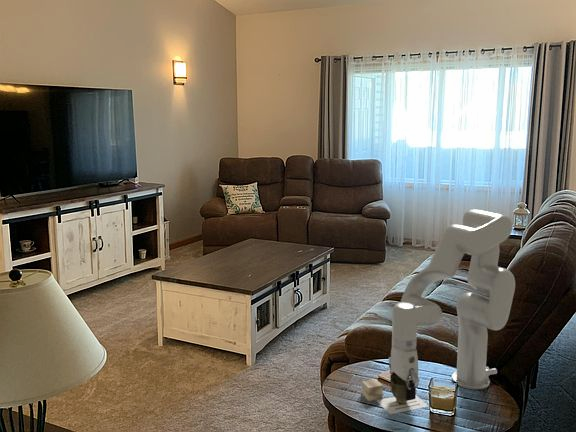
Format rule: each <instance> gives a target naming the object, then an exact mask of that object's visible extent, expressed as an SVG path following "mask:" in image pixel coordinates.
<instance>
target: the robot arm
mask: <svg viewBox="0 0 576 432" xmlns="http://www.w3.org/2000/svg"><path fill="white" fill-rule="evenodd" d="M462 224H463V225H462ZM462 224H456V223H455V224H449V225H448V226H447V227H446V228H445V229H444V231H443V233H442V234H441V235H442V236H441V237H440V239H439V242H438V244H437V246H436V248H435V251H434V253H433V255H432V257H431V259H430V262H429V264H428V265H427V266H426V267H425V268H423V269H422V270H420V271H418V273H416V275H414V276H413V277H412V278H411V279H410V280H409V282H408V284H407V285H406V286H405V290H404V292H403V294H402V297H401V299H400V302H397V303H395V304H394V305H393V307H392V320H391V321H392V323H391V324H392V326H391V327H392V329H391V332H392V333H391V350H390V356H389V357H388V363H389V365H388V367H389V369H390V370H389V374H390V380H389V381H390V386H391V377H392V376H393V375H395V376H397V375H398V376H399V377H400V378H401V379H403V380H404V381H405V382H406V385H407V388H406V400H407V401H408V400H413V399H415V398H416V395H417V393H416V392H417V388H418V386H419V384H420V378H419V359H418V358H419V357H418V351H417V350H418V349H416V348H417V330H418V327H431V326H434V325H437V324H438V323H439V322H440V321H441V319H442V318H443V309H442V308H441V307H440V305H438V304H437V303H436V302H433V301H431V300H428V299H426V298H424V297H422V296H423V294H424V292H425V291H426V289H427V288H428V287H430V286H431V285H432V284H433V283H436V282H439V281H442V280H443V281H444V280H448V279H451V278H454V276H455V275H456V273H457V270H458V269H459V268H458V267H459V265H460V264H461V261H462V259H463V258H464V255H465V254H467V255H469V256H471V258H470V263H469V268H468V273H467V284H468V285H469V286H470V287H471V288H473V289H475V290H477V291H479V292H483V293H486V294H488V295H489V297H488V296H486V295H483V294H480V293H477V292H471V291H469V292H465V293H464V292H463V294H461V295H460V296H459V298H458V299H457V301H456V313H457V320H458V335H457V336H458V337H457V356H456V357H457V358H456V359H457V360H456V371H455V372H453V373H452V374H451V380H453V381H455V382H458V385H459V386H458V385H457V386H458V387H460V388H463V389H467V390H483V389H486V388H488V387H489V386H490V384H491V383H490V382H491V380H490V378H489V376H490V375H497V373H498V370H497V368H496V367H494V368H490V367H489V366H487V356H488V355H487V354H488V340H489V339H488V338H489V335H488V329H489V330H491V331H500V330H502V329H503V328H504V327H505V326H506V324H507V322H508V320H509V317H510V313H511V309H512V304H513V300H514V299H513V298H514V295H515V290H516V279H515V276H514V274H513V273H512V272H511V270H509V269H507V268H505V267H501V266H498V265H499V264H498V263H499V259H500V258H499V257H500V244H502V243H503V242H505V241H506V240H508V238H509V237H510V236H511V234H512V232H513V228H514V227H513V222H512V220H511V219H510V217H508V216H507V215H504V214H502V213H496V212H492V211H487V210H482V209H476V208H475V209H468V210H467V211H465V213H464V214H463V218H462ZM408 377H409V378H408ZM410 377H411V378H410ZM407 378H408V379H407ZM409 381H412V383H411V384H409ZM453 381H452V382H453Z"/></svg>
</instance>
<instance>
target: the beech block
mask: <svg viewBox="0 0 576 432" xmlns="http://www.w3.org/2000/svg"><path fill="white" fill-rule="evenodd" d="M383 386H384V385H383V384H382V383H381V382H380V381H379V380H378V379H376V378H371V379H366V380H362V381H361V395H362V396H363V397H364V398H365V399H366V400H367V401H368V402H372V401H376V400H381V399H383V395H384V394H383V389H384V387H383Z"/></svg>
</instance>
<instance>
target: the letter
mask: <svg viewBox="0 0 576 432" xmlns="http://www.w3.org/2000/svg"><path fill="white" fill-rule="evenodd" d="M375 401H376V402H377V403H378V404H379V405H380V406H381V407H382V408H383V409H384V410H385V411H386V412H387V413H388V414H389V415H392V414H398V413H403V412H408V411H412V410H417V409H423V408H427V407H429V405H428V404H427V403H426V402H425V401H424V400H422V399H421V398H420V397H419V396H418V395H417V394H416V398H415V399H413V400H408V401H407V403H406V404H399V403H397V401H396V398H395V397H394V396H392V397H388V398H387V397H386V398H382V399H377V400H375Z"/></svg>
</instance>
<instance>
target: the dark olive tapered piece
mask: <svg viewBox="0 0 576 432" xmlns="http://www.w3.org/2000/svg"><path fill="white" fill-rule="evenodd" d="M390 377H391V376H390ZM408 378H411V376H410V377H408ZM408 378H407V379H408ZM411 383H412V381H409V384H411ZM390 388H391V393H392V397H395V398H396V401H397V403H399V404H406V403H407V400H406V388H407V385H406V382H405V381H404V380H403V379H401V378H400V377H399V376H398V375H397V376H395V375H393V376H392V377H391V387H390Z"/></svg>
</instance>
